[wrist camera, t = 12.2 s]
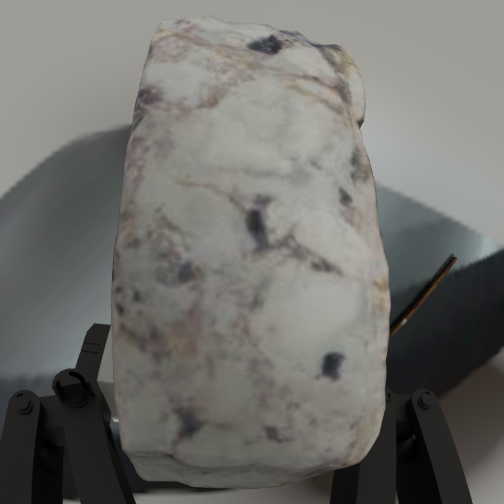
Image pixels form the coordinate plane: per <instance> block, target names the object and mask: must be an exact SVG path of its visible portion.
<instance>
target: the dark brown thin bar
mask: <svg viewBox="0 0 504 504" xmlns="http://www.w3.org/2000/svg"><path fill="white" fill-rule="evenodd" d="M456 260H457V258H456V257H453V258H452V259H451V260H450V262H449V263H448V264H447V265H446V267H445V268H444V269H443V270H442V272H441V273H440V274H439V275H438V277H437V278H436V279H435V280H434V282H433V283H432V284H431V285H430V287H429V288H428V289H427V290H426V291H425V292H424V293H423V295H422V296H421V297H420V298H419V299H418V300H417V302H416V303H415V304H414V305H413V306H412V307H411V309H410V310H409V311H408V312H407V313H406V314H405V315H404V316H403V317H402V318H401V320H400V321H399V322H398V323H397V324H396V325H395V326H394V327H393V328H392V329H391V330H390V334H389V336H393V335H394V334H395V333H396V332H397V331H398V330H399V329H400V328H401V327H402V326H403V325H404V323H405V322H406V321H407V320H408V319H409V318H410V317H411V316H412V315H413V313H414V312H415V311H416V310H417V309H418V308H419V306H420V305H421V304H422V303H423V302H424V301H425V299H426V298H427V297H428V296H429V295H430V294H431V292H432V291H433V290H434V289H435V287H436V286H437V285H438V284H439V283H440V281H441V280H442V279H443V277H444V276H445V275H446V274H447V272H448V271H449V270H450V268H451V267H452V266H453V264H454V263H455V262H456Z"/></svg>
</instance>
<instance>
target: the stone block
mask: <svg viewBox="0 0 504 504" xmlns="http://www.w3.org/2000/svg"><path fill="white" fill-rule="evenodd" d="M365 108H366V103H365V91H364V87H363V82H362V78H361V75H360V72H359V69H358V67H357V66H356V64H355V62H354V60H353V59H352V58H351V56H349V54H348V53H347V51H346V50H345V49H344V48H343V47H341V46H338V45H335V44H334V45H322V44H318V43H316V42H313V41H311V40H310V39H308V38H307V37H305V36H304V35H302V34H301V33H299V32H297V31H289V30H280V29H277V28H274V27H271V26H269V25H262V24H253V23H247V24H240V23H232V22H226V21H223V20H221V19H219V18H216V17H214V16H207V17H201V18H192V19H168V20H165V21H163V22H162V23H160V25H159V26H158V28H157V30H156V32H155V34H154V36H153V38H152V40H151V43H150V47H149V52H148V56H147V59H146V62H145V65H144V69H143V73H142V79H141V83H140V88H139V92H138V96H137V100H136V104H135V109H134V116H133V124H132V128H131V132H130V136H129V140H128V145H127V149H126V154H125V158H124V173H123V189H122V197H121V205H120V213H119V223H118V230H117V235H116V240H115V245H114V256H113V271H112V290H111V325H112V356H113V382H114V399H115V405H116V410H117V415H118V422H119V430H120V437H121V444H122V449H123V451H124V452H125V453H126V454H127V456H128V457H129V458H130V460H131V462H132V463H133V465H134V467H135V470H136V472H137V474H138V475H139V476H140V477H141V478H142V479H144V480H147V481H178V482H181V483H184V484H187V485H190V486H193V487H207V488H244V489H256V488H257V489H258V488H271V487H278V486H282V485H286V484H289V483H293V482H296V481H299V480H302V479H305V478H308V477H312V476H316V475H319V474H323V473H326V472H328V471H330V470H335V469H342V468H345V467H348V466H351V465H354V464H357V463H359V462H360V461H361V460H362V459H363V458H364V457H365V456H366V455H367V453H368V452H369V450H370V449H371V447H372V445H373V444H374V442H375V440H376V439H377V437H378V435H379V432H380V428H381V423H382V419H383V415H384V412H385V408H386V402H385V382H386V355H387V348H388V342H389V334H390V308H391V297H390V282H389V270H388V263H387V258H386V253H385V249H384V244H383V240H382V236H381V232H380V228H379V224H378V205H377V196H376V187H375V181H374V177H373V172H372V168H371V165H370V161H369V158H368V155H367V152H366V150H365V147H364V145H363V140H362V134H361V130H360V127H361V125H362V124H363V122H364V116H365Z"/></svg>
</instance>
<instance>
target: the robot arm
mask: <svg viewBox="0 0 504 504" xmlns="http://www.w3.org/2000/svg"><path fill="white" fill-rule="evenodd" d="M52 388H53V390H54V392H55V394H56V395H53V396H46V397H38V396H37V395H36V394H35V393H34V392H32V391H29V390H21V391H18V392H16V393H15V394H14V395H13V396H12V397H11V399H10V401H9V404H8V408H7V413H6V418H5V423H4V429H3V435H2V441H1V447H0V504H63V457H64V446H66V445H67V449H68V454H69V459H70V463H71V468H72V472H73V476H74V480H75V484H76V488H77V492H78V495H79V499H80V502H81V504H136V502H135V500H134V497H133V494H132V492H131V489H130V486H129V484H128V481H127V478H126V475H125V472H124V469H123V466H122V463H121V460H120V457H119V453H118V450H117V447H116V443H115V440H114V436H113V433H112V430H111V428H110V420H111V416H112V418H113V420H114V421H116V422H118V415H117V410H116V405H115V399H114V382H113V356H112V325H106V324H96V323H94V324H93V326H92V327H91V328H90V329H89V330H88V331H87V333H86V336H85V339H84V342H83V345H82V348H81V352H80V354H79V357H78V361H77V364H76V367H75V369H66V370H63V371H61V372H60V373H58V374H57V375H56V376H55V378H54V380H53V383H52ZM385 402H386V408H385V412H384V415H383V419H382V423H381V428H380V432H379V435H378V437H377V439H376V440H375V442H374V444H373V445H372V447H371V449H370V450H369V452H368V453H367V455H366V456H365V457H364V458H363V459H362V460H361V461H360V462H359V463H357V464H354V465H351V466H348V467H345V468H342V469H335V470H334V477H333V484H332V491H331V498H330V504H395V494H396V493H395V492H396V491H397V496H398V501H399V504H473V503H472V499H471V496H470V492H469V489H468V485H467V482H466V478H465V475H464V472H463V469H462V466H461V462H460V459H459V456H458V453H457V450H456V447H455V444H454V442H453V439H452V436H451V433H450V430H449V428H448V425H447V422H446V419H445V417H444V414H443V412H442V409H441V406H440V404H439V401H438V399H437V397H436V396H435V395H434V394H433V393H432V392H431V391H429V390H426V389H419V390H416V391H415V392H414V393H413V394H412V395H411V396H408V395H400V394H394V393H392V391H391V390H390V389H389V388H388V387H387V386H385Z"/></svg>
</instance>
